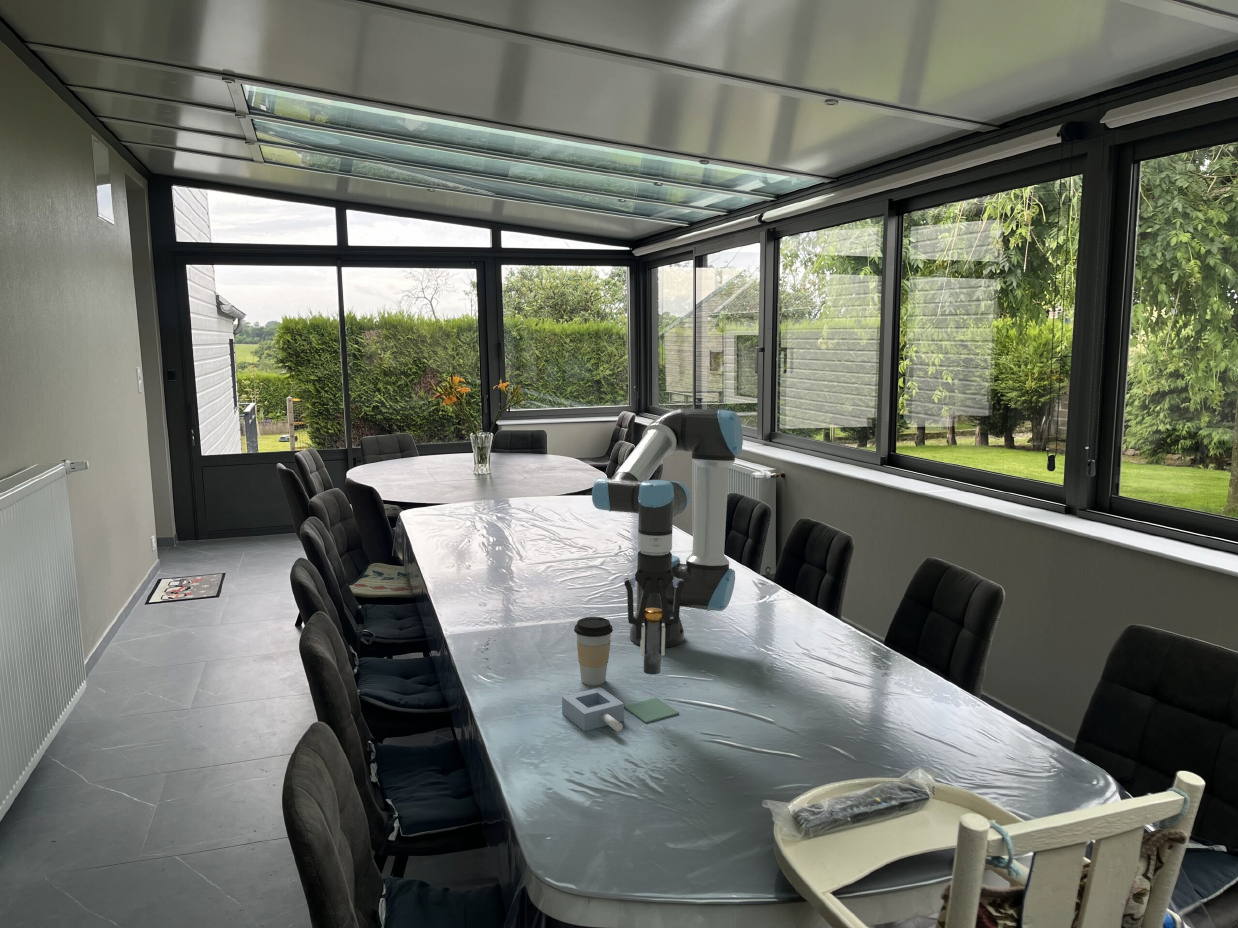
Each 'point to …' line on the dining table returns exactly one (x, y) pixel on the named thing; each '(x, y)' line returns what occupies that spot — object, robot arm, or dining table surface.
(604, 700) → the block
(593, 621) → the coffee cup
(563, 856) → the dining table surface
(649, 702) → the pad
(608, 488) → the robot arm
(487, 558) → the dining table surface
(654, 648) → the orange capped tube
